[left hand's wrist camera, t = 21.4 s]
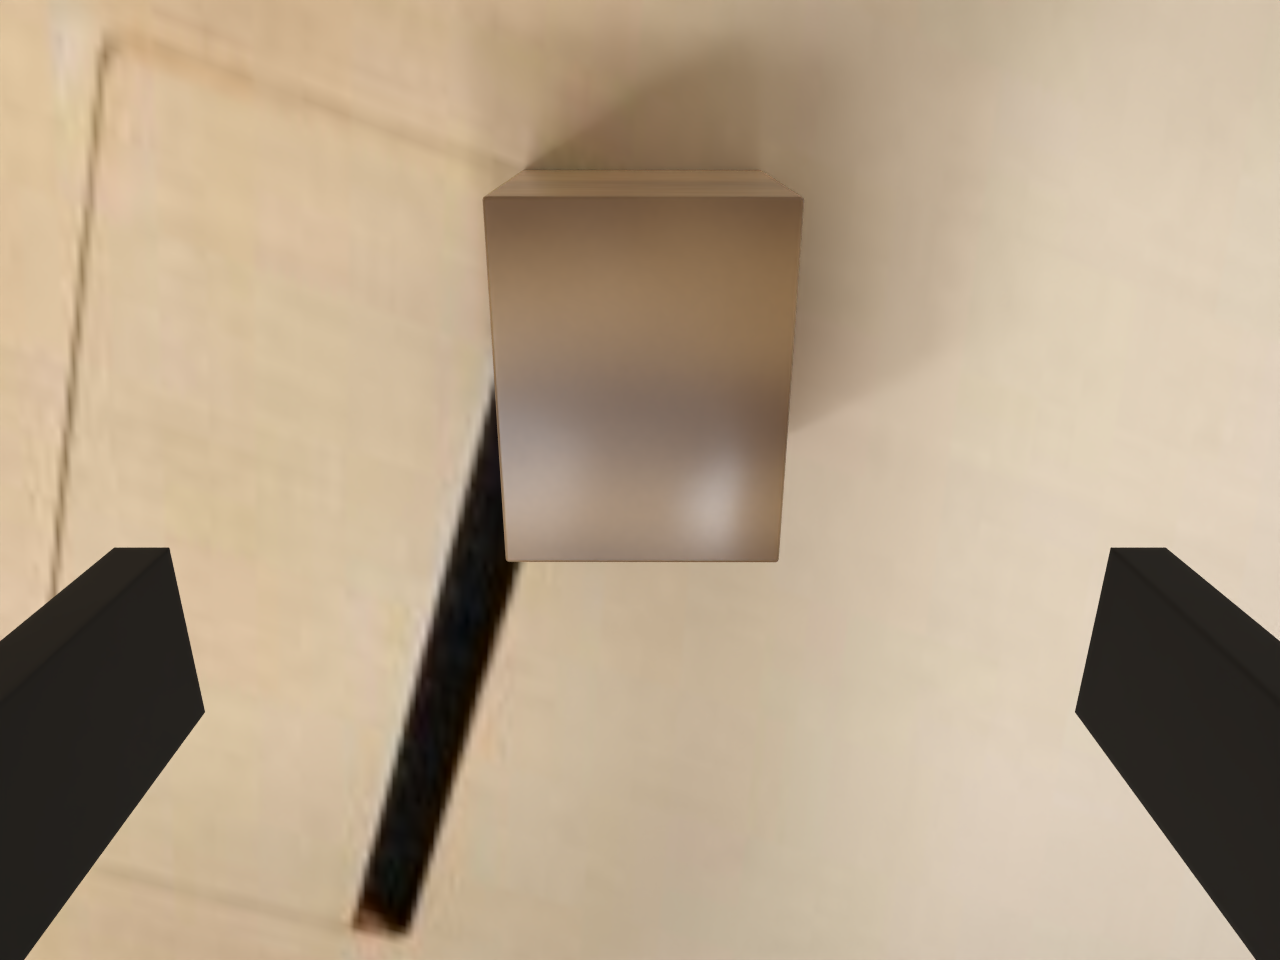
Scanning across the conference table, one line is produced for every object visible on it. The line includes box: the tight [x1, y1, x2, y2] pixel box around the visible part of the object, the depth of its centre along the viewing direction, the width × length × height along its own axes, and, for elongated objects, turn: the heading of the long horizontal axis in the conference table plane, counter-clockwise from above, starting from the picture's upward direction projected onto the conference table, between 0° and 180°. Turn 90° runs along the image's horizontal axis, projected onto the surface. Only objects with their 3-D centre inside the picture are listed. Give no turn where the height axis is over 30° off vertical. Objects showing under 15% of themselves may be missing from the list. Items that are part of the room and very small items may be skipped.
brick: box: [483, 170, 804, 562], centre depth 25 cm, size 9×7×7 cm
